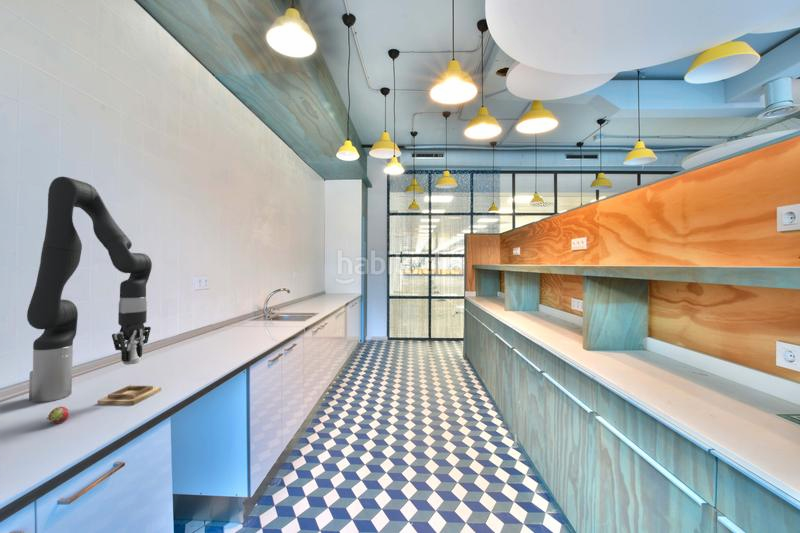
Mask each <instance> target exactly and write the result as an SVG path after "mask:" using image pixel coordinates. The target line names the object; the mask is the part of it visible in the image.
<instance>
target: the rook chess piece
mask: <svg viewBox="0 0 800 533" xmlns="http://www.w3.org/2000/svg"><path fill="white" fill-rule="evenodd" d="M126 341H129V340H126ZM137 343H138V342H137V339H134V341H133V343H132V344H131V347H130V361H128V362H123V361H122V363H123V365H125V366H126V365H128V366H129V365H135V364H138V363H139V362H140V357H139V356H138V355H137V351H136V347H137V346H136V344H137Z"/></svg>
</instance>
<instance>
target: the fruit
mask: <svg viewBox="0 0 800 533" xmlns="http://www.w3.org/2000/svg"><path fill="white" fill-rule="evenodd" d="M69 416H70V412H69V410H68V408H67V407H65V406H57V407H55V408H53V409H52V410H51V411H50V412H49V414H48V417H47V418H46V419H47V420H49V424H52V423H53V424H60V423H64V422H65V421H67V419H68V418H69Z"/></svg>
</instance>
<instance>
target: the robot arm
mask: <svg viewBox="0 0 800 533" xmlns="http://www.w3.org/2000/svg"><path fill="white" fill-rule="evenodd" d="M74 208H80V209H81V210H82V211H83V212H85V213H86V214H87V215H88V216H89V218H90V219H91V221H92V229H93V232H94V235H95V237H96V238H97V240H98V241H99V242H100V243H101V244H102V245H103V247H104V248H105V249H106V251H107V252H108V255H109V258H110V260H111V263H112V265H113V267H114V268H115V269H116V270H117V271H119V272H121V273H123V274H129V277H128V279H126V280H123V281H121V283H120V284H119V302H118V318H117V320H118V321H117V322H118V323H117V324H118V325H119V326H120V330H119V331H118V332H117V333H112V334H111V339H112V341H113V345H114V349H115V351H120V352H121V353H120V354H121V356H120V357H121V359H120V360H121V362H122V363H123V362H128V361H130V347H131V344H132V343H133V341H134V339H137V342H138V343H137V344H136V346H137V347H136V351H137V355H138V356H139V358H142V356H143V347H144V346H145V344H148V342H149V337H150V334H151V331H152V330H151V329H152V328H151V326H145V325H144V324H146V323H147V313H148V312H147V311H148V310H147V306H148V302H147V284H148V281H149V278H150V276H151V272H152V268H153V263H152V260H151V258H150V256H149V255H148V254H146V253H141V252H136V253H135V252H131V251H130V250H131V248H132V245H133V243H132V242H131V239H129V237H128V236H127V235H126V234H125V232H124V231H123V230H122V229H121V227H120V226H119V225H118V224H117V222H116V221H115V219H114V218H113V217H112V215H111V213H110V212H109V210H108V208H107V207H106V205H105V203H104V201H103V199H102V197H101V195H100V193H99V192H98V191H97V189H96V188H95V187H94V186H93V185H92V184H89V183H88V182H84V181H81V180H78V179H76V178H75V179H74V178H72V177H67V176H58V177H56V178H53V180H52V181H51V182H50V184H49V187H48V192H47V215H46V216H47V218H46V225H45V233H44V239H43V243H42V248H41V253H40V262H39V268H38V273H37V277H36V282H35V286H34V290H33V293H32V295H31V299H30V301H29V302H30V303H29V305H28V308H27V311H26V312H27V313H26V319H27V322H28V324H29V325H30V326H31V328H34V329H36V330H44V331H43V333H42V334H41V335H40V336H38V337H37V338H36V339H35V340H33V343H32V370H31V371H29V382H28V383H29V384H28V385H29V390H28V400H29V401H32V402H33V403H46V402H53V401H57V400H60V399H63V398H66V397H69V396H70V395H72V388H73V387H72V386H73V385H72V384H73V355H74V354H73V352H74V351H73V342H74V339H75V337H76V335H77V328H78V317H79V315H78V308H77V306H76V304H75V303H74V301H73V302H72V301H70V300H68V299H62V294H63V291H64V288H65V285H66V284H67V283H68V281H69V279H70V278H71V277H72V276H73V275H74V274H75V271H76V270H77V269H78V267H79V265H80V261H81V256H82V251H83V244H82V240H81V239H80V236H79V234H78V231H77V229H76V227H75V224H74V221H73V220H74V219H73V214H74ZM127 340H129V341H127Z"/></svg>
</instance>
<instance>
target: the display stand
mask: <svg viewBox="0 0 800 533" xmlns="http://www.w3.org/2000/svg"><path fill="white" fill-rule="evenodd" d="M160 392H162V387H159V386H157V387H156V386H155V387H154V386H153V385H127V386H125V387H122V388H120V389H118V390H116V391H114V392H111V393H109V394H107V395H106V396H105V397H103V398H100V399H98V400H97V405H118V406H119V405H126V406H127V405H128V406H130V405H131V406H134V405H137V404H138V403H141V402H142V401H145V400H146V399H148V398H150V397H152V396H154V395H156V394H157V393H160Z"/></svg>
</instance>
